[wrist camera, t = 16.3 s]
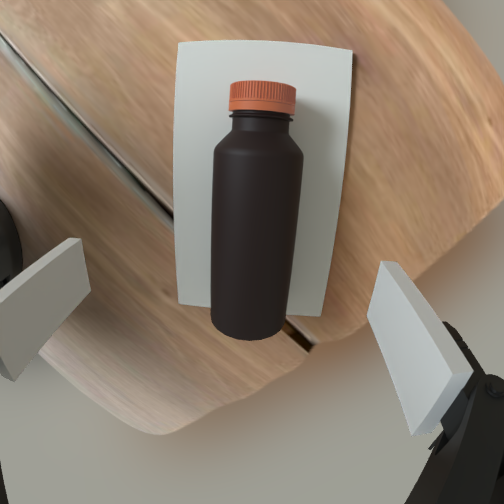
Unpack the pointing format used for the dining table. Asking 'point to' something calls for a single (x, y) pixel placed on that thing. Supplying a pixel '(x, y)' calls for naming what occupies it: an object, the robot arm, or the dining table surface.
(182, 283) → the mat
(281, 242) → the vinegar
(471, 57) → the dining table surface
